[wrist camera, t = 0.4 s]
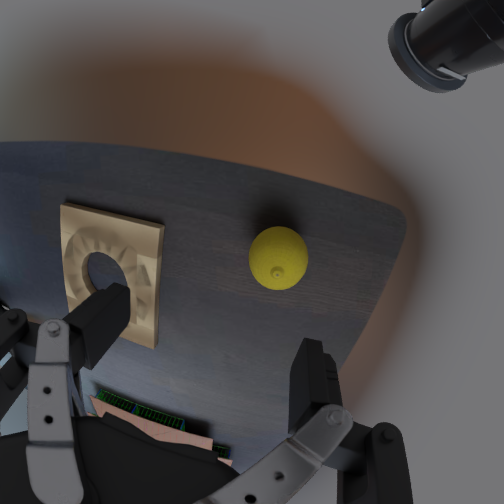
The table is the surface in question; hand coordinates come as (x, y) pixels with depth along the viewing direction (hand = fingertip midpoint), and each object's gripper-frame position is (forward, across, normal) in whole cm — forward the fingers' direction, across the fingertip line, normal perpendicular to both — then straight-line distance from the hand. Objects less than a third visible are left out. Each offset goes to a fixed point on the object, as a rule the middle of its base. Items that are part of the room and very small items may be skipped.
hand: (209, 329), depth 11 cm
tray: (+19, +18, +12) cm, 28 cm away
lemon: (+19, -3, +2) cm, 19 cm away
